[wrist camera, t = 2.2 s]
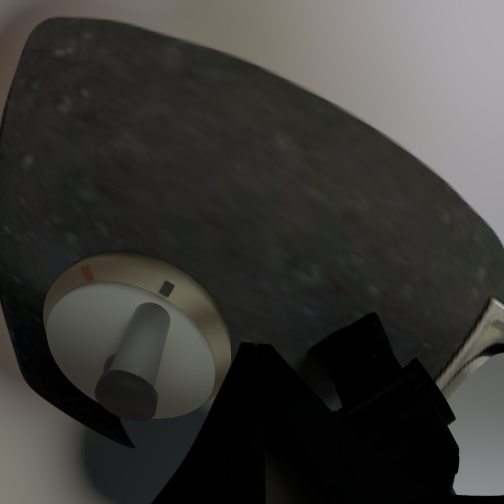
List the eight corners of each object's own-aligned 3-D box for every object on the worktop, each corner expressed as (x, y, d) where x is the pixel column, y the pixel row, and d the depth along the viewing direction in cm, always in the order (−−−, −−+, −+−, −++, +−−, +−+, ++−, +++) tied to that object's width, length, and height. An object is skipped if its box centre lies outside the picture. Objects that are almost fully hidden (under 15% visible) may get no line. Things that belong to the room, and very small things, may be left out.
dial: (251, 376, 21) (260, 465, 14) (136, 420, 23) (123, 486, 16) (125, 241, 16) (62, 320, 9) (30, 328, 18) (-14, 391, 11)
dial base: (268, 359, 24) (271, 377, 22) (141, 412, 26) (138, 427, 24) (137, 205, 18) (127, 214, 16) (28, 309, 20) (17, 322, 18)
